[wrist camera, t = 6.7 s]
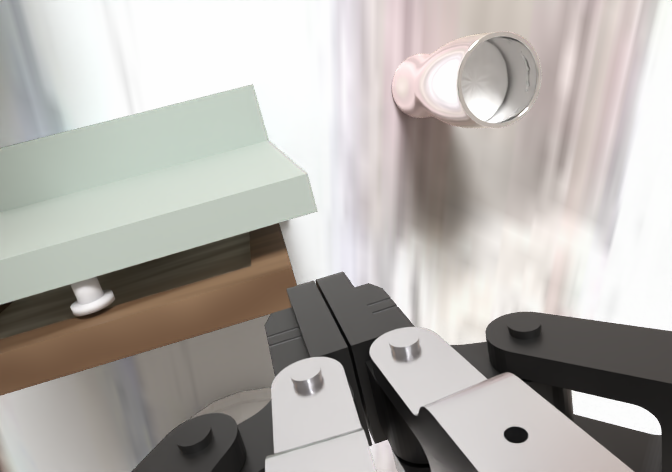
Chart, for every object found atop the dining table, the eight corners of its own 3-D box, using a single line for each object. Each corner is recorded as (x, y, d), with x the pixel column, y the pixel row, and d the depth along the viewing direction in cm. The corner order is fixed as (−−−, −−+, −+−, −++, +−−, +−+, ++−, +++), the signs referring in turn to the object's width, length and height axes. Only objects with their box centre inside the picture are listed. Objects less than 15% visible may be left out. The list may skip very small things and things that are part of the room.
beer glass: (383, 120, 49) (448, 128, 35) (390, 45, 47) (461, 22, 33) (448, 124, 51) (535, 134, 37) (457, 52, 49) (552, 33, 35)
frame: (2, 283, 35) (-142, 395, 22) (274, 206, 37) (291, 267, 24) (14, 307, 36) (-118, 431, 23) (281, 231, 38) (302, 304, 25)
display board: (-23, 154, 42) (-303, 215, 20) (251, 85, 46) (280, 69, 23) (36, 280, 46) (-143, 454, 23) (286, 207, 49) (340, 298, 27)
